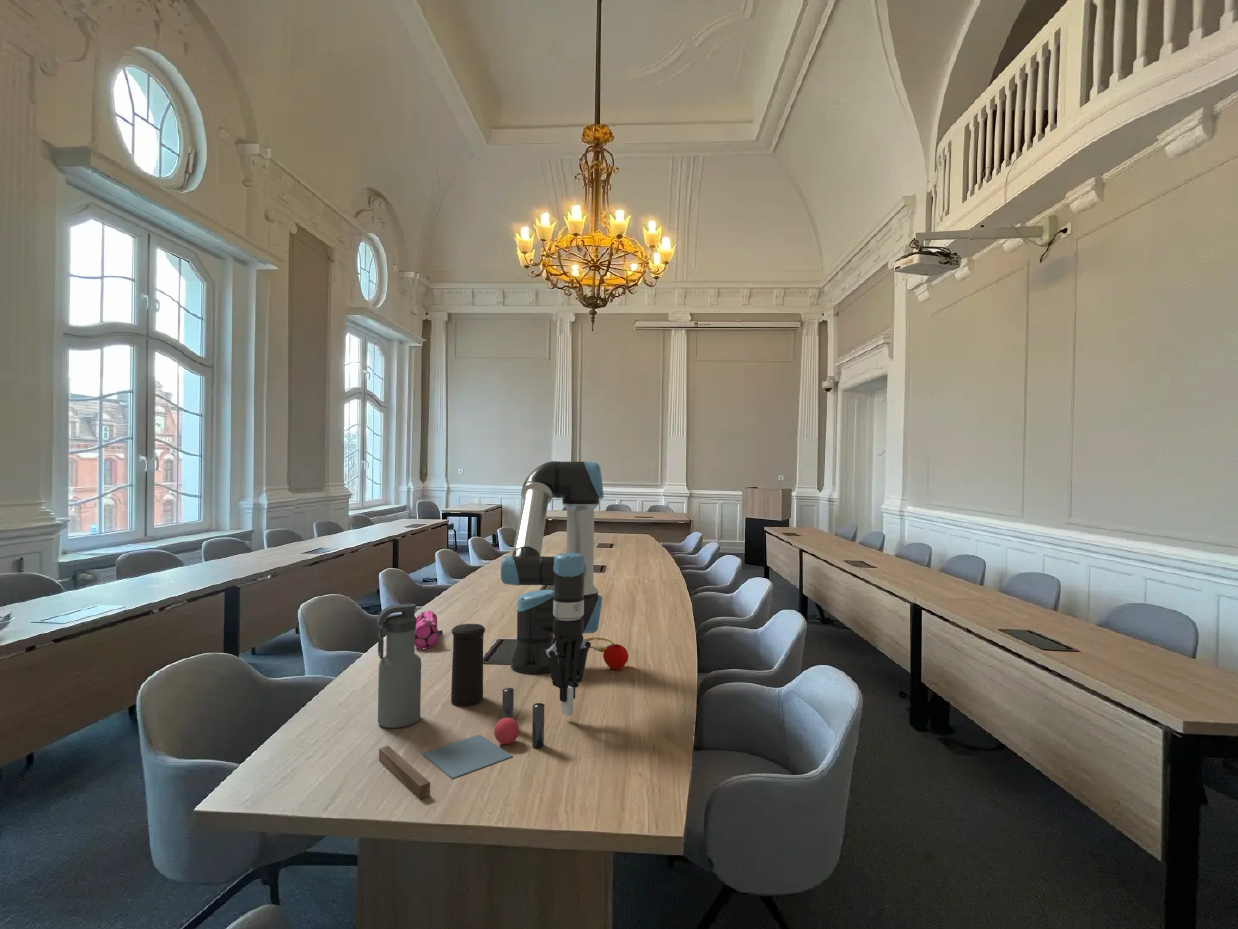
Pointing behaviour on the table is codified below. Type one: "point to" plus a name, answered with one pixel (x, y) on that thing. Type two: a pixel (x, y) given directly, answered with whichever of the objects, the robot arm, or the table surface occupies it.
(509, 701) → the post
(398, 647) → the water bottle
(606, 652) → the apple
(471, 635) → the container
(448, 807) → the table surface
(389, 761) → the wall
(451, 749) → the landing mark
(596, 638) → the yellow cable loop
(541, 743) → the post
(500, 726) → the ball
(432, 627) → the pencil case
